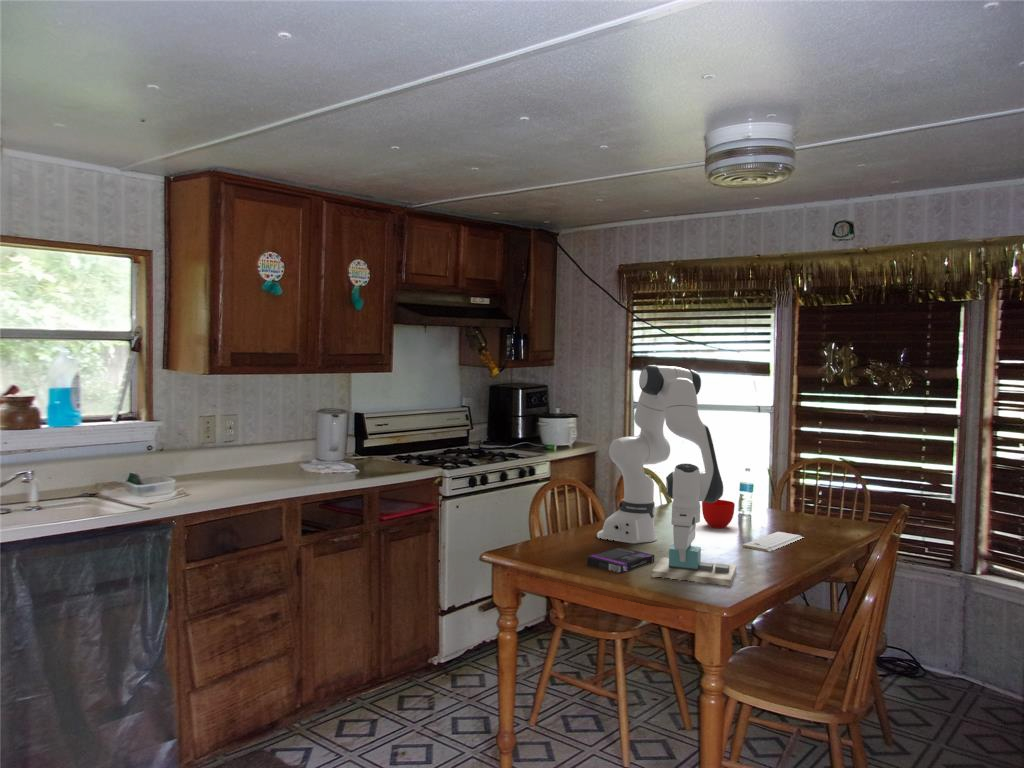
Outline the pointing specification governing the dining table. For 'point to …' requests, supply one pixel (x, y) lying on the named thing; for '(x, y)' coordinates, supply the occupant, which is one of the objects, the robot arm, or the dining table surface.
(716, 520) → the red bowl
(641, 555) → the box
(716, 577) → the board
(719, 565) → the grey block
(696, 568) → the block
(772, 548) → the white spiral notebook
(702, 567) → the grey block
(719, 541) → the dining table surface
